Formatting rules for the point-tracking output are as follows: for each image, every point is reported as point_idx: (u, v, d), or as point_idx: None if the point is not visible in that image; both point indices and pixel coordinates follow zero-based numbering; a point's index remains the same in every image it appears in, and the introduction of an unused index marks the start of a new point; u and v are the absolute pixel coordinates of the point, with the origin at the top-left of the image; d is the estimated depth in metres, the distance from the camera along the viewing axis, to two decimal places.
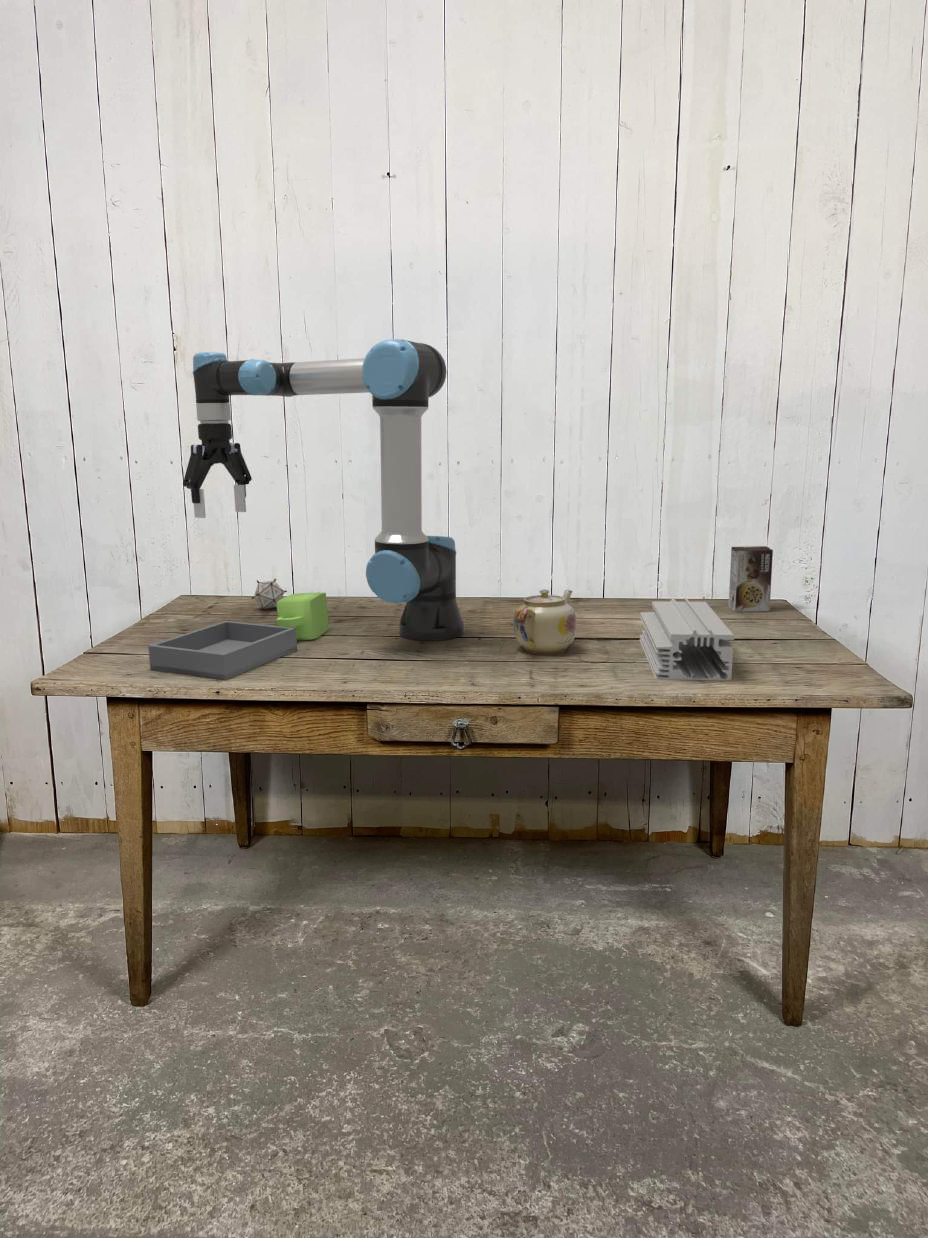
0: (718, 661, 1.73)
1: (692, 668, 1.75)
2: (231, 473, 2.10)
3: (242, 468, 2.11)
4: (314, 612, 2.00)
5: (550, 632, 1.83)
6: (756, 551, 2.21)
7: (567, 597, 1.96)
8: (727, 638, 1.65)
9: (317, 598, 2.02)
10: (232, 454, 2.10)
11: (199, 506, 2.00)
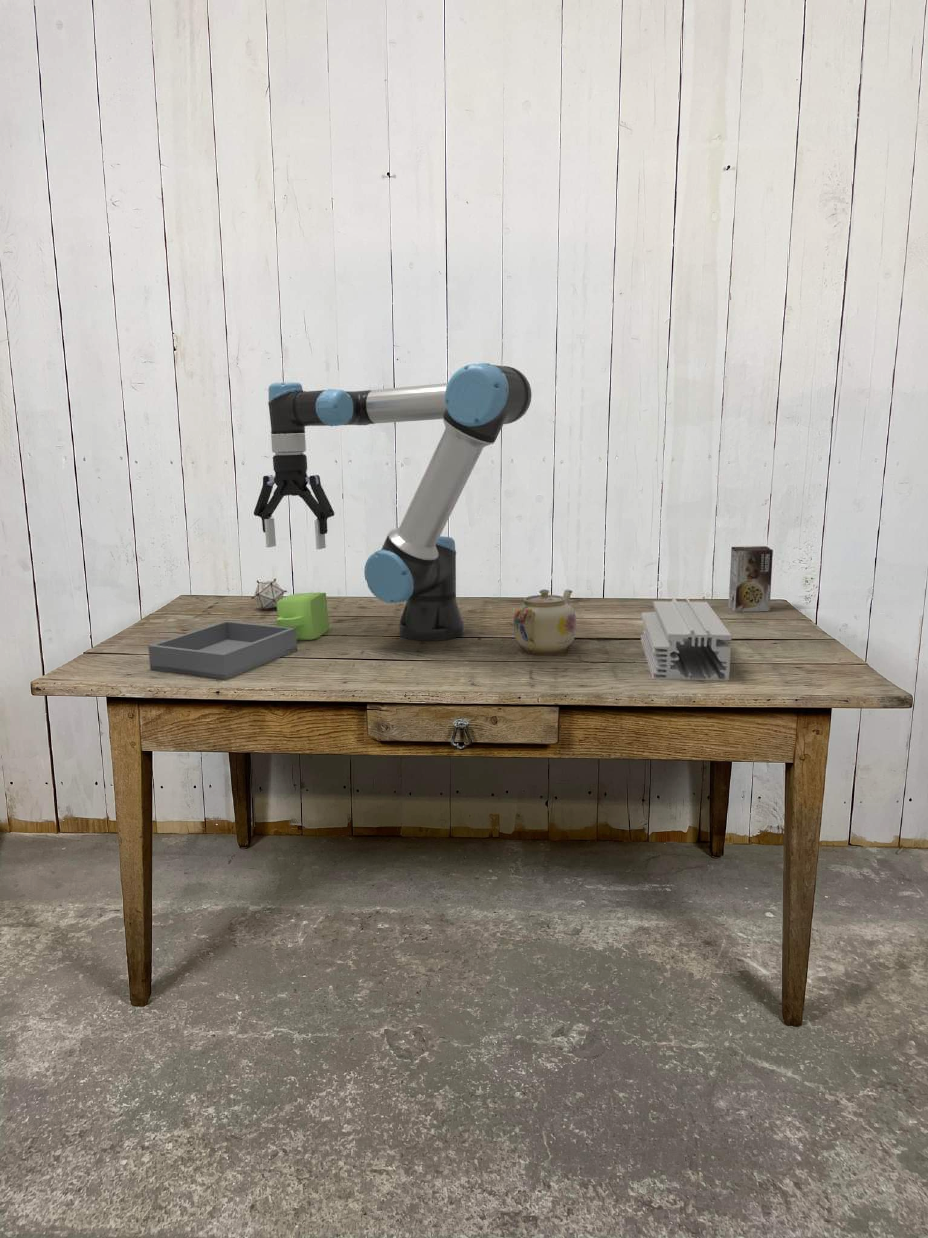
0: (717, 661, 1.73)
1: (690, 668, 1.75)
2: None
3: None
4: (314, 612, 2.00)
5: (550, 632, 1.83)
6: (756, 551, 2.21)
7: (567, 597, 1.96)
8: (724, 638, 1.65)
9: (317, 598, 2.02)
10: None
11: None
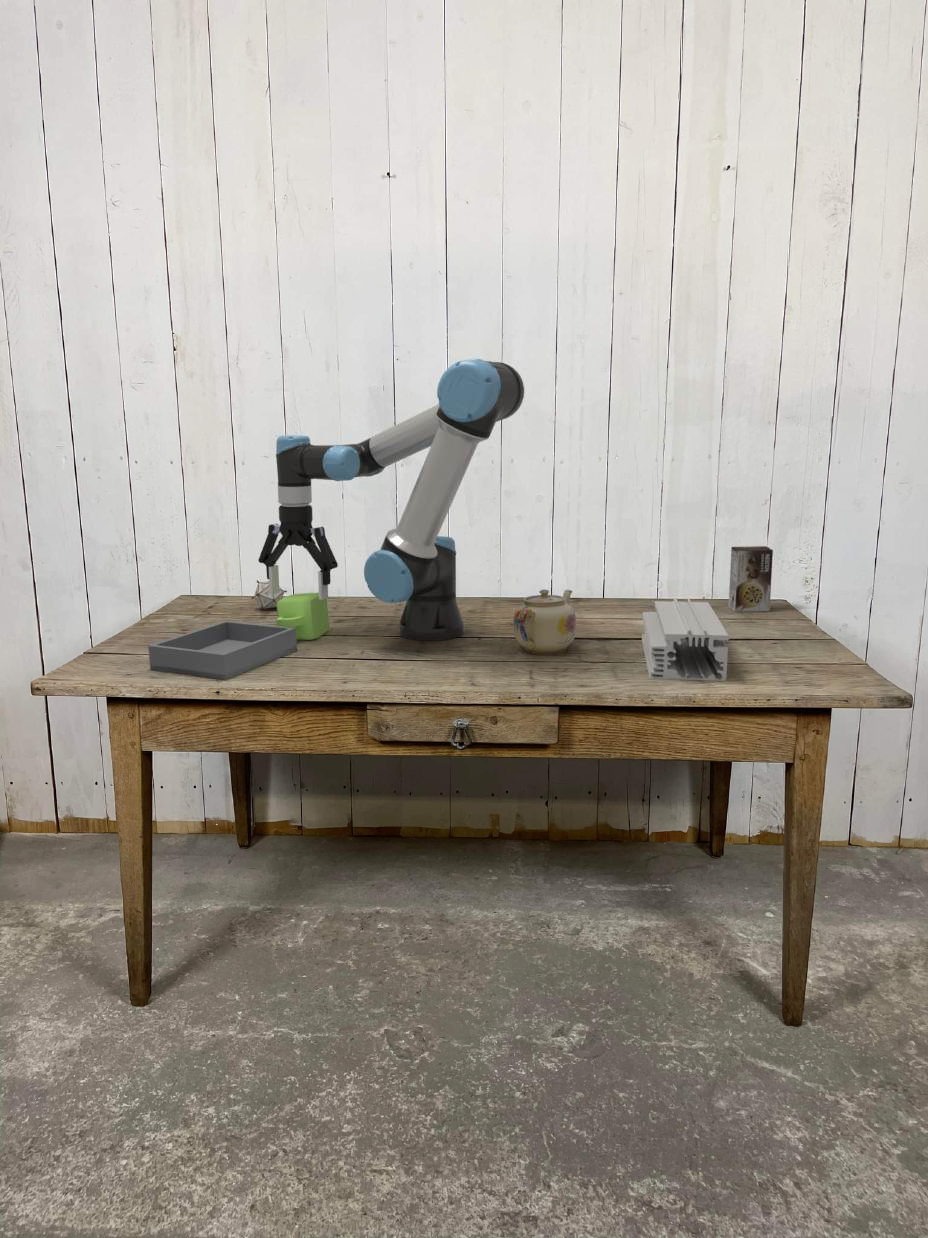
0: (715, 661, 1.73)
1: (689, 668, 1.75)
2: None
3: None
4: (314, 612, 2.00)
5: (550, 632, 1.83)
6: (756, 551, 2.21)
7: (567, 597, 1.96)
8: (722, 638, 1.65)
9: (317, 598, 2.02)
10: None
11: None
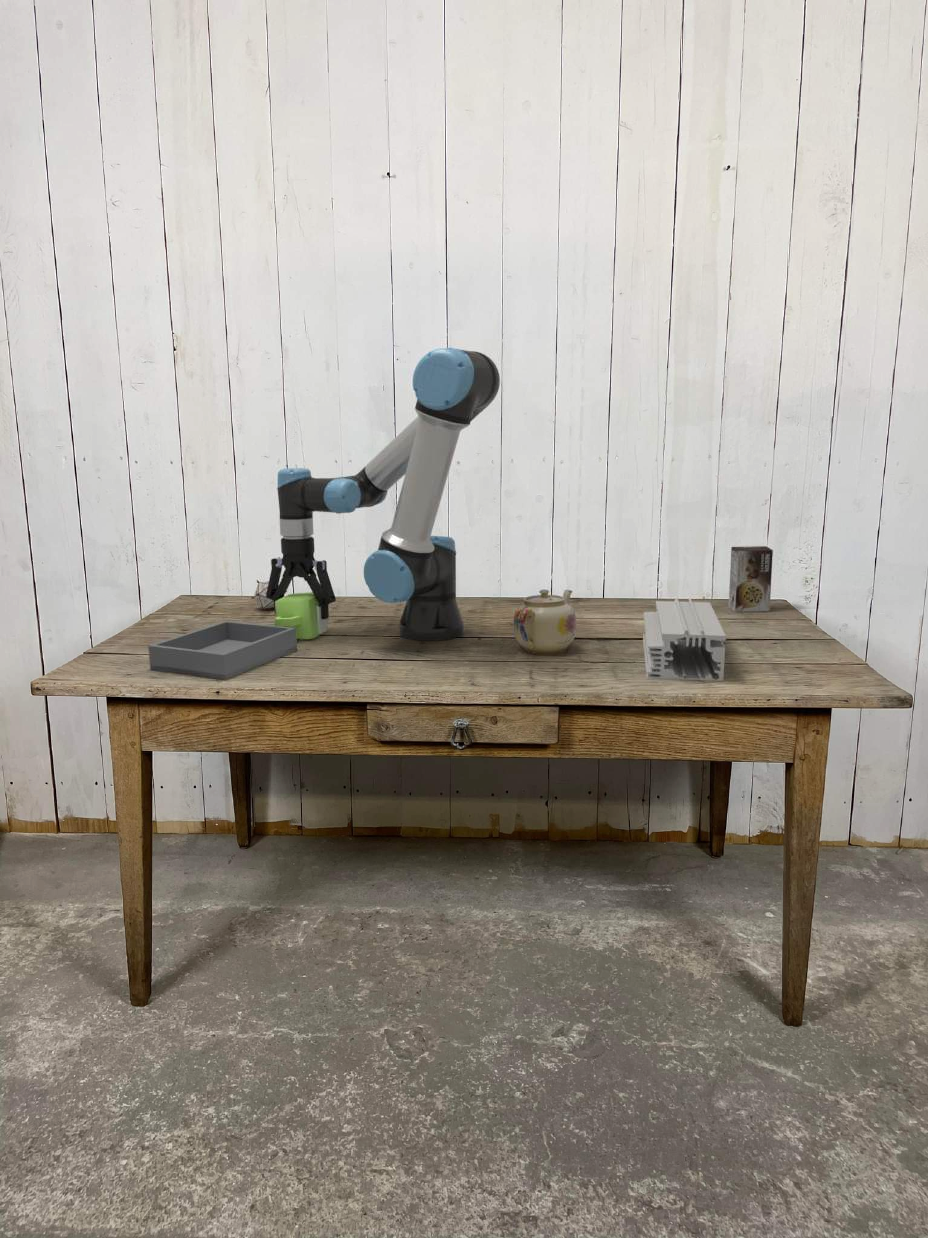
0: (713, 662, 1.73)
1: (687, 668, 1.75)
2: None
3: None
4: (312, 611, 2.00)
5: (550, 632, 1.83)
6: (756, 551, 2.21)
7: (567, 597, 1.96)
8: (719, 639, 1.65)
9: None
10: None
11: None
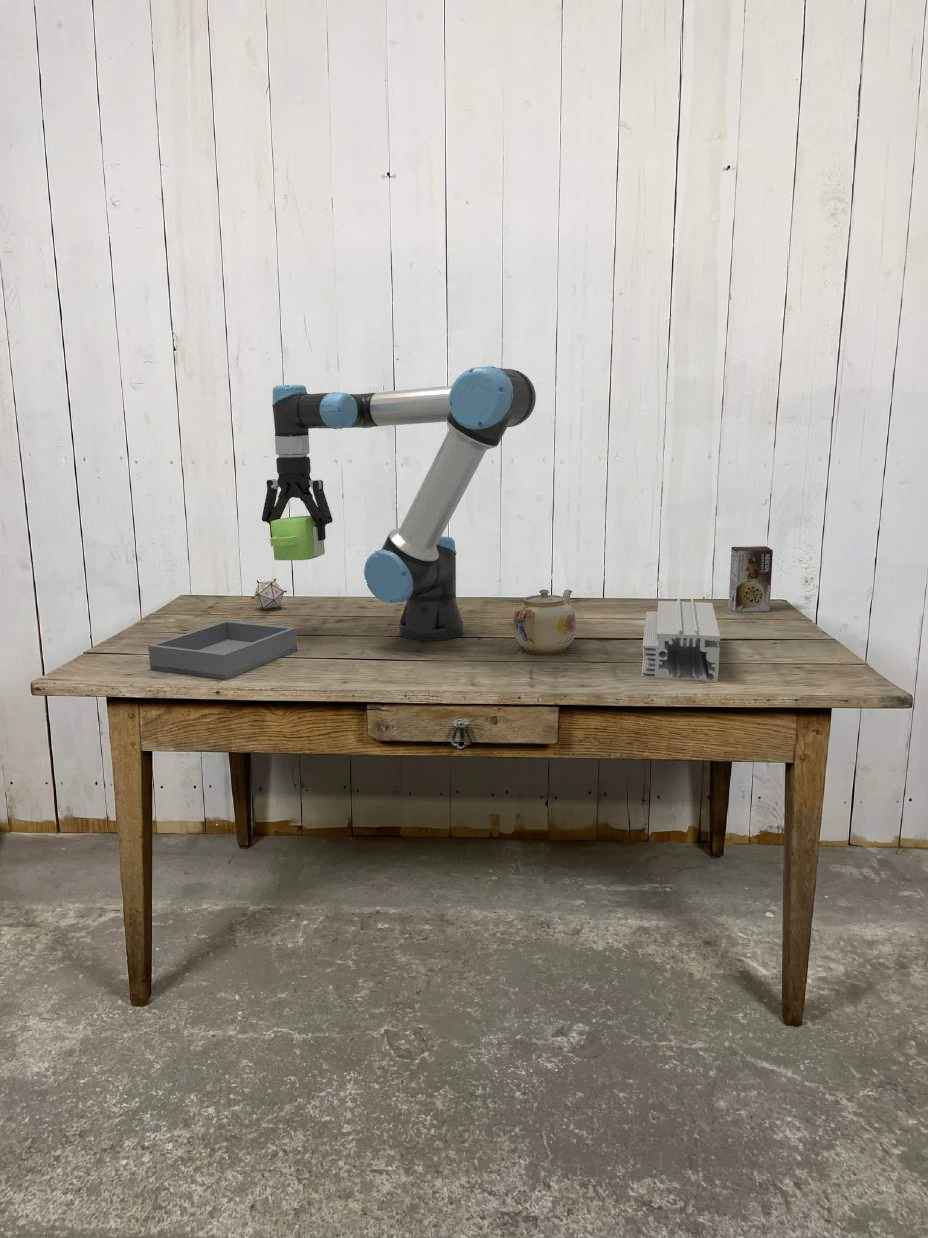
0: (709, 662, 1.72)
1: (683, 668, 1.75)
2: None
3: None
4: (309, 532, 1.96)
5: (550, 632, 1.83)
6: (756, 551, 2.21)
7: (567, 597, 1.96)
8: (713, 639, 1.65)
9: (312, 519, 1.98)
10: None
11: None
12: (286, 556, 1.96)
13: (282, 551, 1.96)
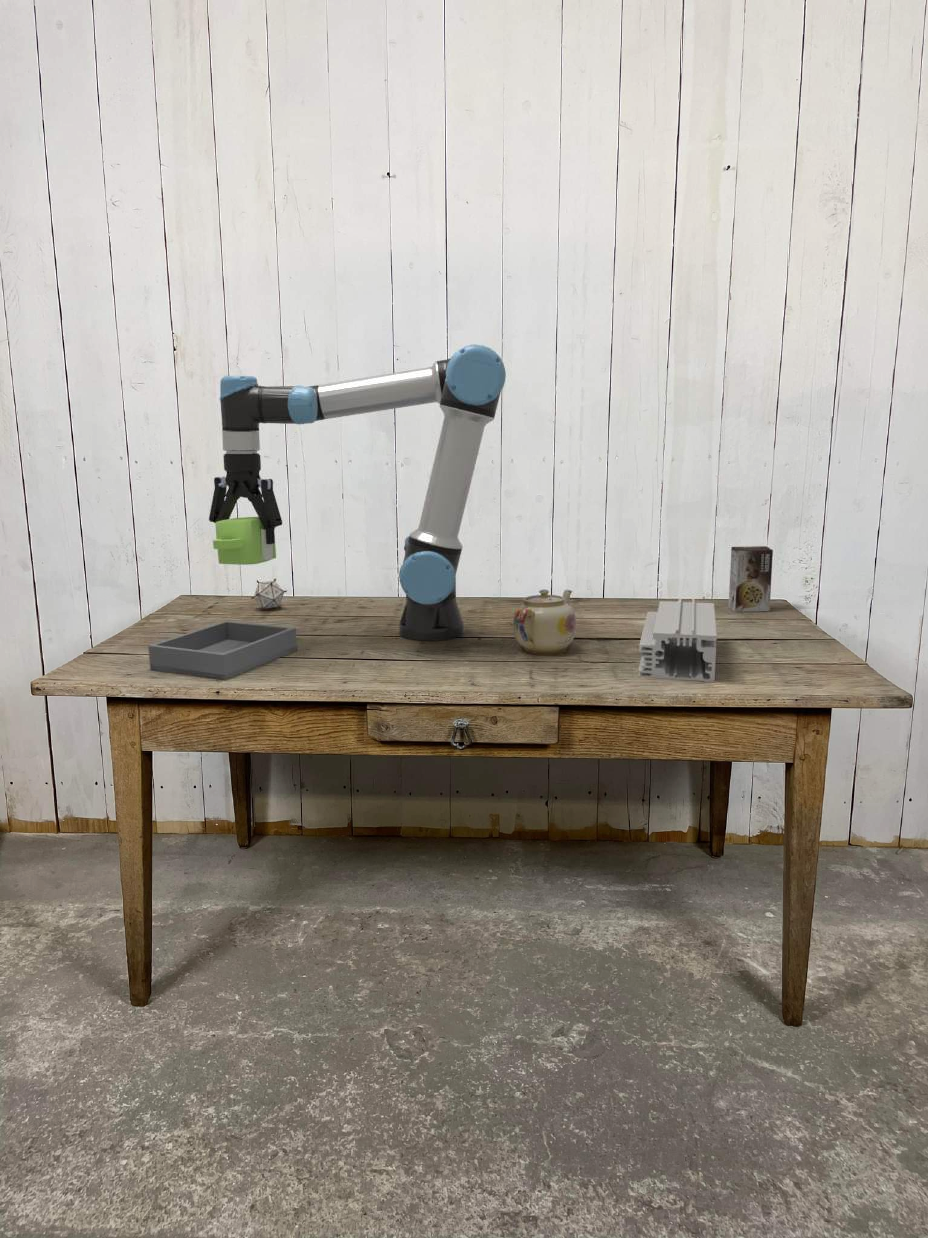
0: (707, 662, 1.72)
1: (681, 668, 1.75)
2: None
3: None
4: (256, 534, 1.82)
5: (550, 632, 1.83)
6: (756, 551, 2.21)
7: (567, 597, 1.96)
8: (710, 639, 1.65)
9: None
10: None
11: None
12: (231, 559, 1.83)
13: (227, 554, 1.82)
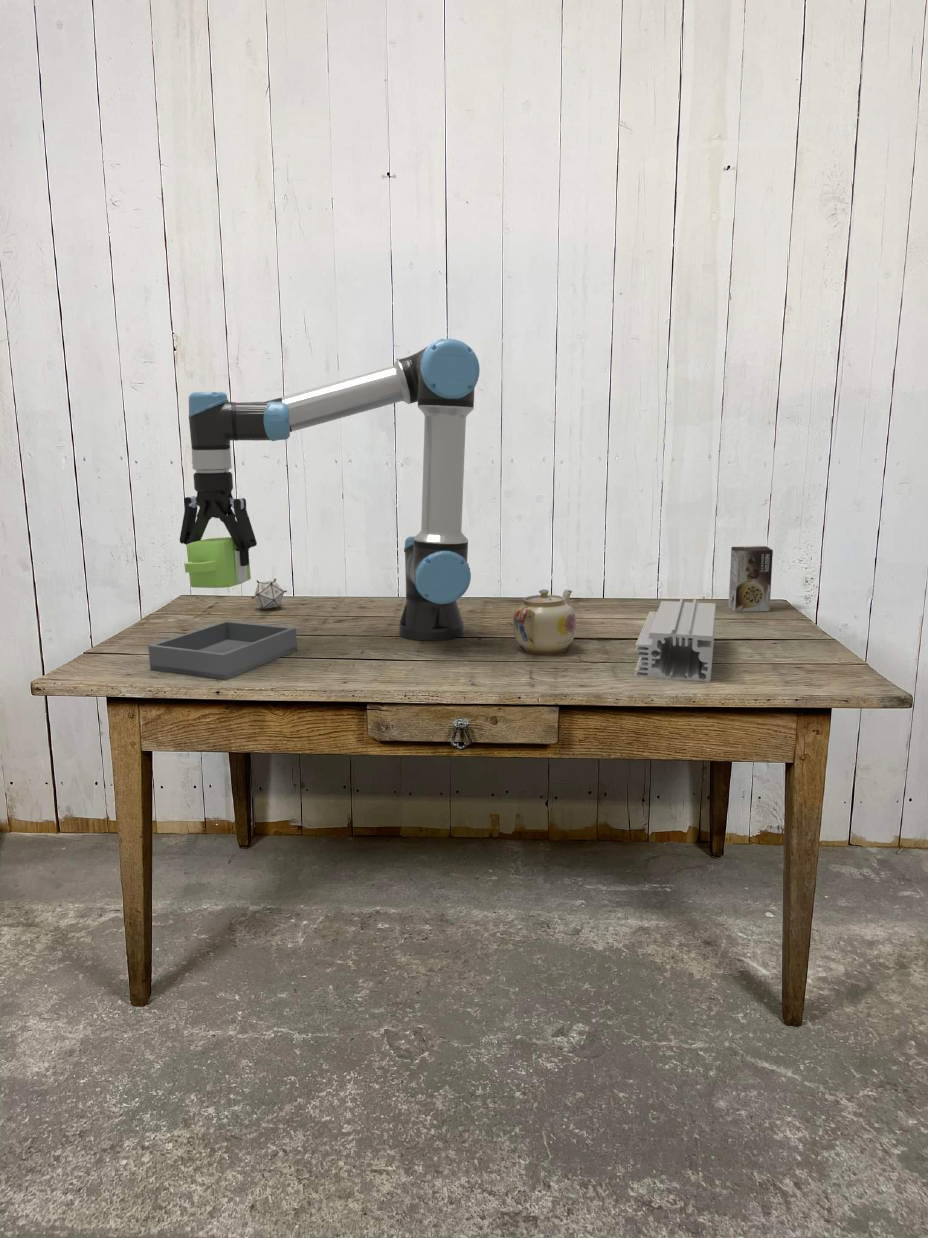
0: (704, 662, 1.72)
1: (678, 668, 1.75)
2: None
3: None
4: (229, 556, 1.75)
5: (550, 632, 1.83)
6: (756, 551, 2.21)
7: (567, 597, 1.96)
8: (705, 639, 1.65)
9: None
10: None
11: None
12: (204, 583, 1.75)
13: (199, 577, 1.75)
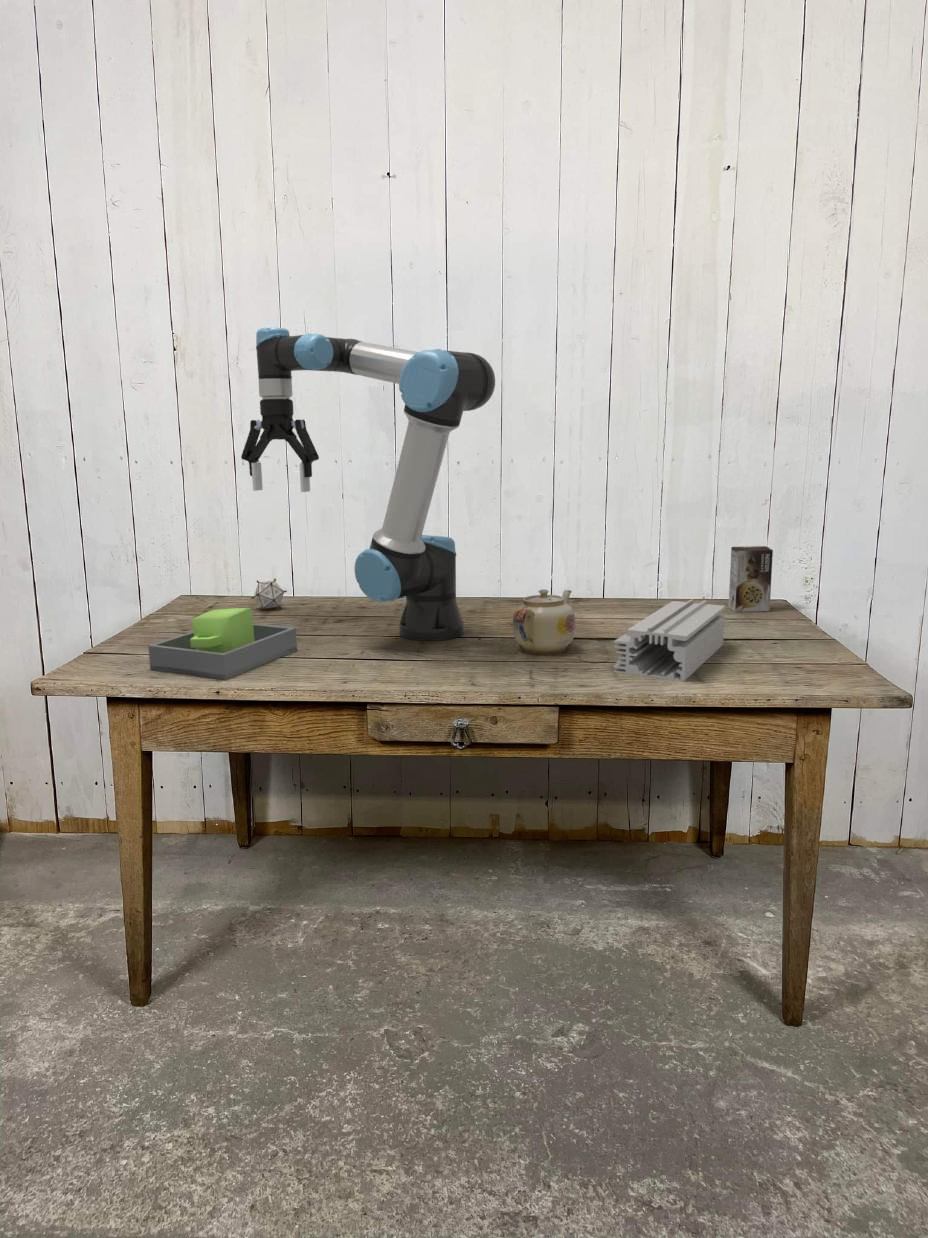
0: None
1: (663, 667, 1.76)
2: None
3: None
4: (234, 630, 1.78)
5: (549, 632, 1.83)
6: (756, 551, 2.21)
7: (566, 597, 1.96)
8: (680, 639, 1.65)
9: (239, 615, 1.81)
10: None
11: None
12: None
13: None
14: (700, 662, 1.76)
